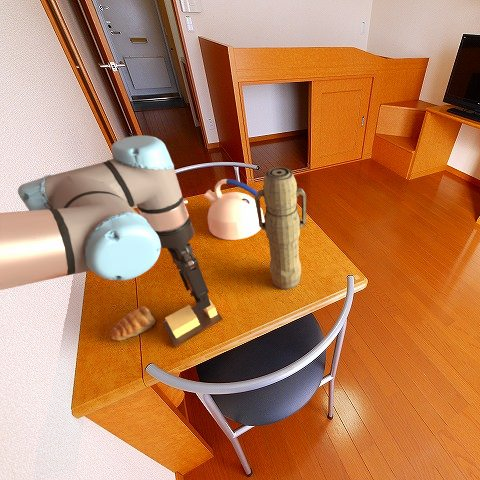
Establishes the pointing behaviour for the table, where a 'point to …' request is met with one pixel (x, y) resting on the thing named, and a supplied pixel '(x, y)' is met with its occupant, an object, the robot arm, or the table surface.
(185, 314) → the butter block
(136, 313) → the pastry
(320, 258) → the table surface
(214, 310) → the butter slice
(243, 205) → the kettle
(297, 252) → the thermos
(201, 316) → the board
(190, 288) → the cutter
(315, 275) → the table surface
